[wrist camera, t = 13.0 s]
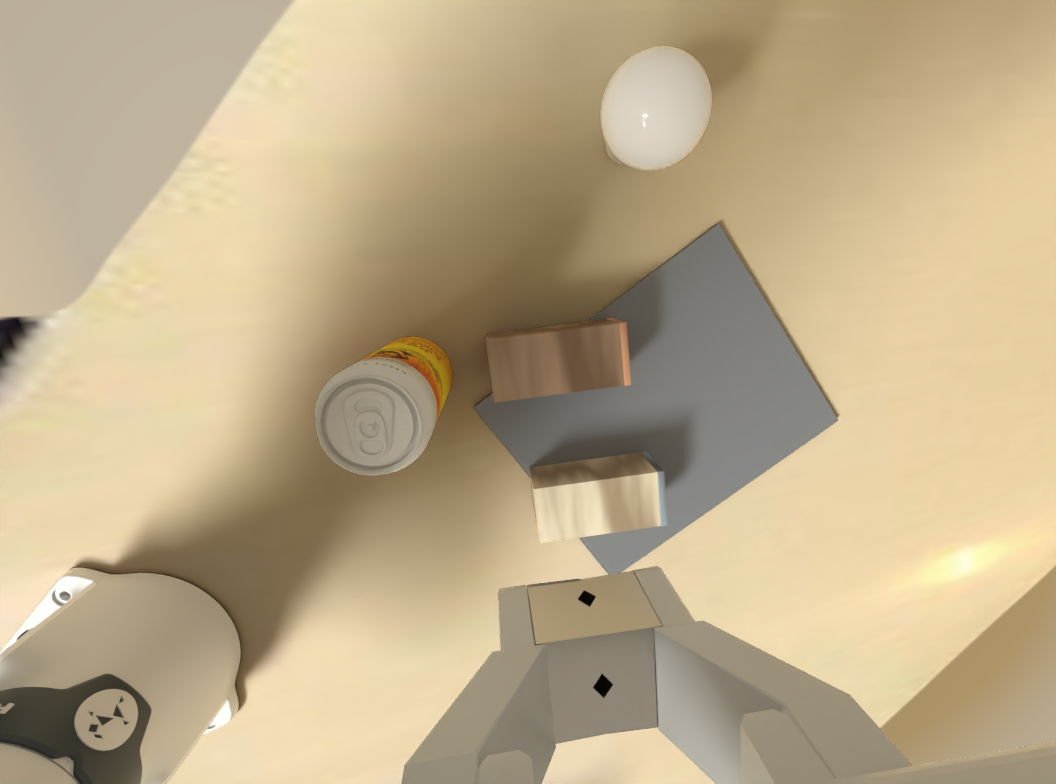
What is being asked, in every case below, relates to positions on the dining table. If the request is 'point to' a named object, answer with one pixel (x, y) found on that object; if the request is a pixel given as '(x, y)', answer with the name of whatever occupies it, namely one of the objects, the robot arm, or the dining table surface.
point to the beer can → (384, 407)
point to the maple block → (598, 496)
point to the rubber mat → (680, 395)
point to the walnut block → (558, 359)
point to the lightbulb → (655, 108)
